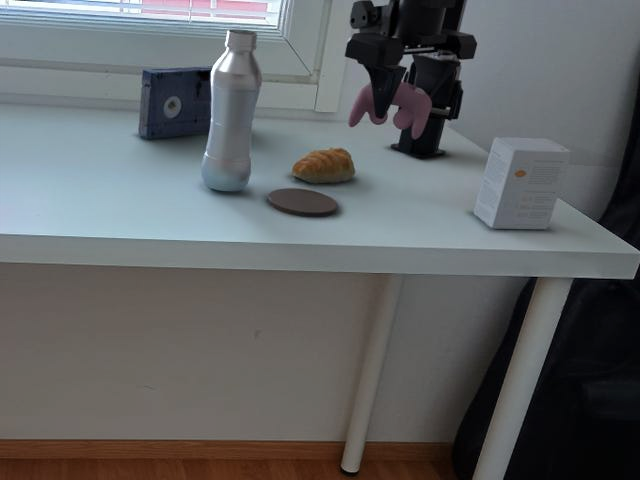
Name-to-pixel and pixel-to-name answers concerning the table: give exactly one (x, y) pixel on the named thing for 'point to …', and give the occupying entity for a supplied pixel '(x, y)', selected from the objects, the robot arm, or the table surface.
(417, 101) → the video game controller
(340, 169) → the pastry
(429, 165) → the table surface
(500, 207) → the small box
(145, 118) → the vhs cassette tape
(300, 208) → the walnut coaster
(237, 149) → the plastic bottle
